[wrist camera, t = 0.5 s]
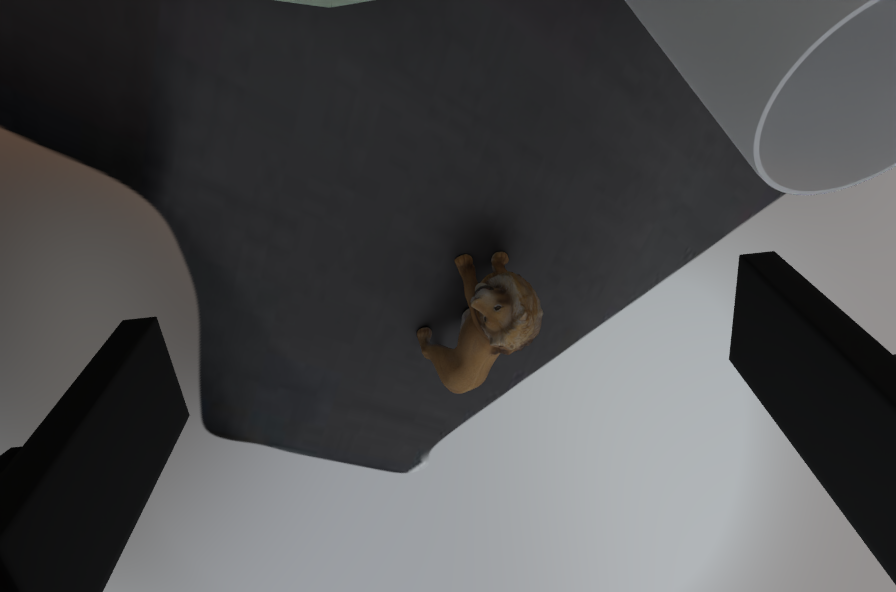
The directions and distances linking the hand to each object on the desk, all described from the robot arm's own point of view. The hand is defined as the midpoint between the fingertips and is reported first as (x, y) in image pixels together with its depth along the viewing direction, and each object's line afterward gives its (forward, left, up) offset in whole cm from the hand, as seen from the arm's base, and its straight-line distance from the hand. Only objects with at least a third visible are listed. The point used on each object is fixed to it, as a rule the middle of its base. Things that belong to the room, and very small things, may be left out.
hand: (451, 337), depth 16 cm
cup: (+6, +14, -22) cm, 27 cm away
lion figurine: (+26, -4, -22) cm, 34 cm away
